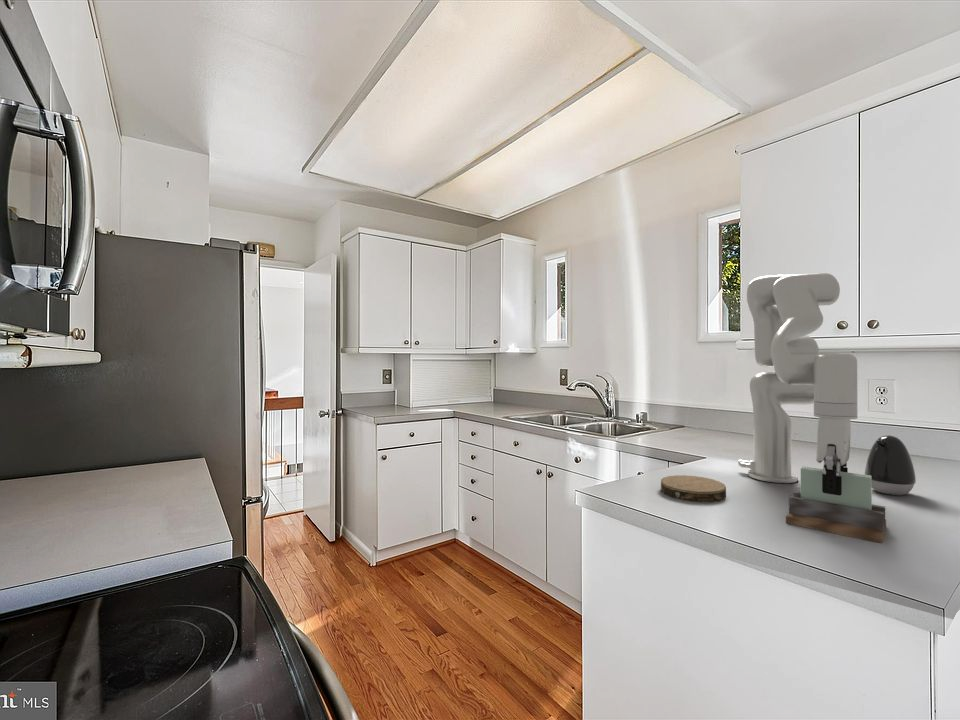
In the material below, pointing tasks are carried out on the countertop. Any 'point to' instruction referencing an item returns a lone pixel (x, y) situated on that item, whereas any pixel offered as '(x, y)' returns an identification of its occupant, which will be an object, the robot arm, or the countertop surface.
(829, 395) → the robot arm
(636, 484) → the countertop surface
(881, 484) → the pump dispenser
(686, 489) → the brown flat round disc
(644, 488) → the countertop surface
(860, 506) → the door panel
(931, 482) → the countertop surface
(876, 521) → the track board
